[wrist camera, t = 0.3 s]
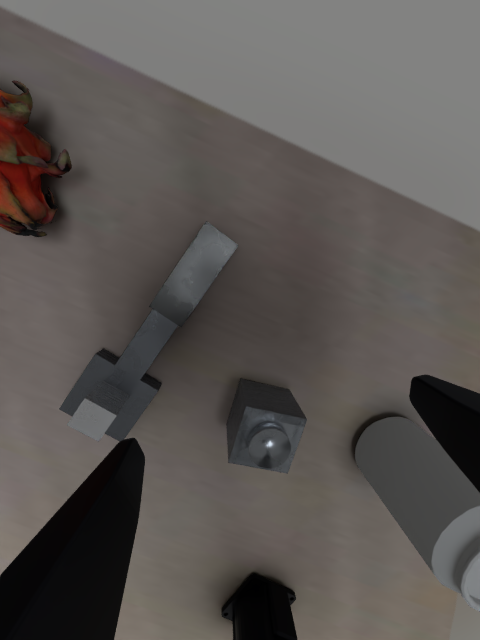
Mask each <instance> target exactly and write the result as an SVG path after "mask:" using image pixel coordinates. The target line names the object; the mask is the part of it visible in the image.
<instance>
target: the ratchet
mask: <svg viewBox="0 0 480 640" xmlns="http://www.w3.org/2000/svg"><path fill="white" fill-rule="evenodd" d="M237 247H238V245H237V244H236V243H235V242H233V241H232V240H231V239H229V238H228V237H227V236H225V235H224V234H223V233H221V232H220V231H219V230H218V229H216V228H215V227H214V226H212V225H211V224H210V223H208V222H207V221H206V222H205V224H204V225H203V227H202V228H201V230H200V231H199V233H198V234H197V236H196V237H195V239H194V240H193V242H192V243H191V245H190V246H189V248H188V249H187V251H186V252H185V254H184V255H183V256H182V258H181V259H180V261H179V262H178V264H177V265H176V267H175V268H174V270H173V271H172V273H171V274H170V276H169V277H168V279H167V280H166V282H165V283H164V285H163V286H162V288H161V289H160V291H159V292H158V294H157V295H156V297H155V298H154V300H153V301H152V303H151V304H150V306H149V307H151V308H152V309H153V310H152V311H151V313H150V314H149V316H148V317H147V319H146V320H145V322H144V323H143V325H142V326H141V327H140V329H139V330H138V332H137V333H136V335H135V336H134V338H133V339H132V341H131V342H130V344H129V345H128V347H127V348H126V350H125V351H124V353H123V354H122V356H121V357H120V358H119V357H117V356H115V355H114V354H112V353H110V352H109V351H107V350H105V349H104V348H103V349H102V350H100V351H99V352H97V353H96V354H95V355H94V357H93V358H92V360H91V361H90V363H89V364H88V366H87V367H86V369H85V371H84V372H83V374H82V375H81V377H80V378H79V380H78V381H77V383H76V384H75V386H74V387H73V389H72V390H71V392H70V393H69V395H68V396H67V398H66V399H65V401H64V402H63V404H62V405H61V407H60V408H59V409H60V410H62V411H63V412H65V413H67V414H69V415H71V416H72V418H71V419H70V421H69V422H68V424H67V425H68V426H70V427H71V428H73V429H75V430H77V431H79V432H81V433H83V434H85V435H87V436H89V437H91V438H93V439H95V440H96V441H98V442H99V440H100V439H101V437H102V436H103V435H104V433H105V434H107V435H109V436H111V437H113V438H114V439H116V440H118V441H121V440H124V438H125V437H126V435H127V434H128V433H129V431H130V430H131V428H132V427H133V426H134V424H135V423H136V421H137V420H138V419H139V417H140V416H141V414H142V413H143V412H144V410H145V409H146V407H147V406H148V404H149V403H150V402H151V400H152V399H153V397H154V396H155V395H156V393H157V392H158V390H159V388H160V386H161V384H162V383H161V382H159V381H157V380H156V379H154V378H152V377H151V376H149V375H147V374H146V373H145V372H146V371H147V370H148V368H149V367H150V365H151V364H152V362H153V361H154V359H155V358H156V357H157V355H158V354H159V352H160V351H161V349H162V348H163V347H164V345H165V344H166V342H167V341H168V339H169V338H170V336H171V335H172V334H173V332H174V331H175V329H176V328H177V326H180V327H182V325H183V324H184V323H185V321H186V320H187V318H188V317H189V315H190V314H191V313H192V311H193V310H194V308H195V307H196V305H197V304H198V302H199V301H200V300H201V298H202V297H203V295H204V294H205V292H206V291H207V290H208V288H209V287H210V285H211V284H212V282H213V281H214V280H215V278H216V277H217V275H218V274H219V272H220V271H221V269H222V268H223V267H224V265H225V264H226V262H227V261H228V259H229V258H230V257H231V255H232V254H233V252H234V251H235V249H236V248H237Z"/></svg>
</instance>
